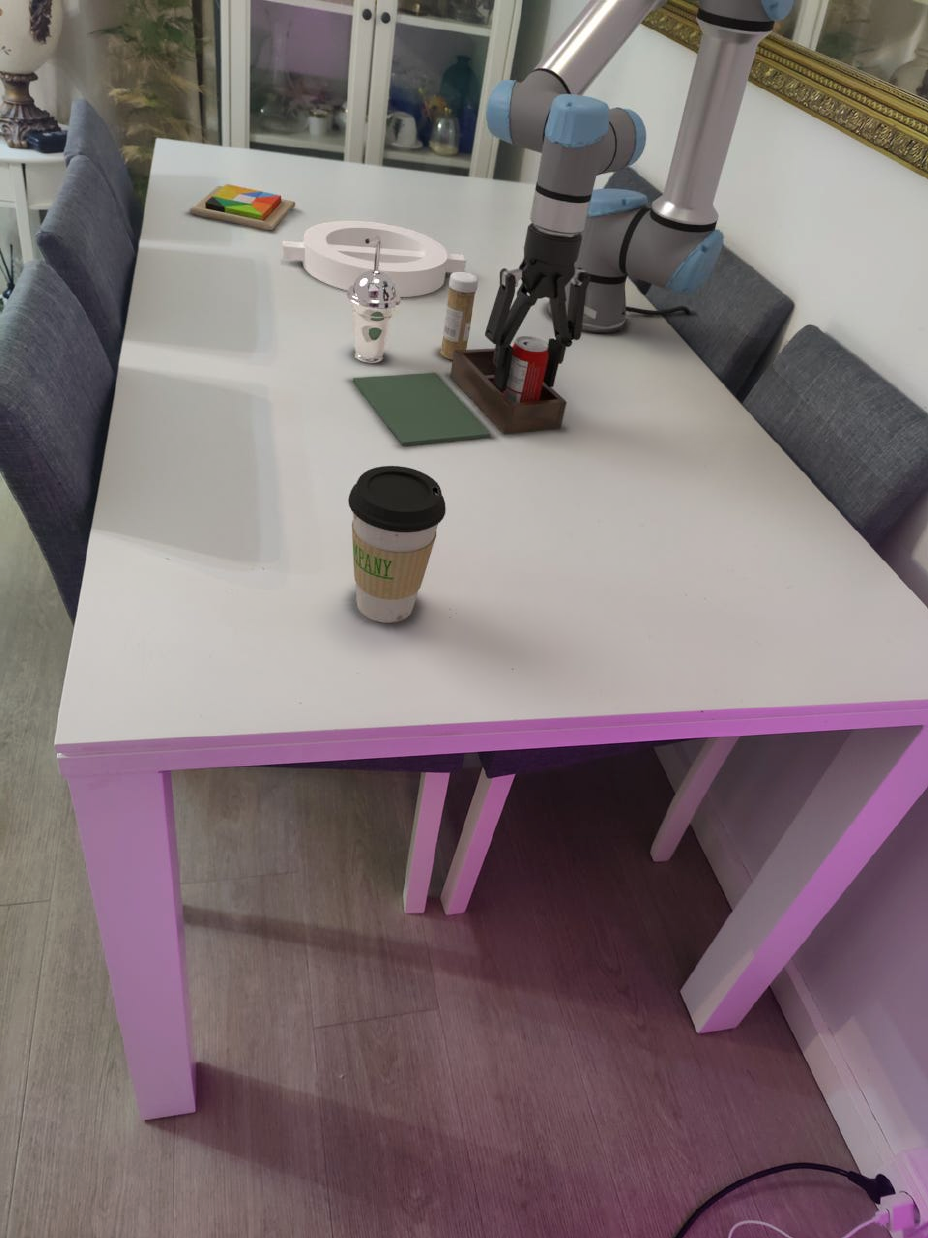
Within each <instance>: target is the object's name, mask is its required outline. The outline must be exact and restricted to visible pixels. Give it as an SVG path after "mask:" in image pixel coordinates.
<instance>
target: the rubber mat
mask: <svg viewBox="0 0 928 1238" xmlns="http://www.w3.org/2000/svg"><path fill="white" fill-rule="evenodd" d="M352 382H353V384H354V385H355V386H356V387H357V389H358V390H359V391H360V393H361V394H362V395H363V396H364V398H365V399H366V400H367V401H368V403H369V404H370V406H371V407H372V408H373V409H374V411H375V412H376V413H377V414H378V416H379V417H380V418H381V420H382V421H383V422H384V424H385V425H386V426H387V428H388V429H389V431H390V432H391V433H392V434H393V436H394V437H395V438H396V439H397V441H398V442H399V443H400V444H401V446H402V447H406V446H416V445H417V446H418V445H426V444H437V443H447V442H454V441H455V442H457V441H466V440H476V439H486V438H491V436H492V435H491V432H490V431H489V429H487V428H486V427H485V426H484V425H483V424H482V423H481V422H480V420H479V419H478V418H477V416H475V415H474V414H473V413H472V411H471V410H470V409H469V408H468V407H467V406H466V405H465V404H464V403H463V402H462V401H461V399H460V398H459V397H458V396H457V395H456V394H455V393H454V392H453V391H452V390H451V389H450V388H449V387H448V385H447V384H446V383H445V382H444V381H443V380H442V379H441V378H440V376H439V375H438V374H437V373H436V372H428V373H427V372H426V373H413V374H397V375H396V374H395V375H380V376H366V377H364V376H363V377H353V379H352Z"/></svg>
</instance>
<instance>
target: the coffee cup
mask: <svg viewBox="0 0 928 1238" xmlns="http://www.w3.org/2000/svg"><path fill="white" fill-rule="evenodd" d="M347 499H348V500H347V501H348V507H349V509H350V510H351V512H352V520H351V538H352V557H353V558H352V559H353V561H352V562H353V577H354V582H355V593H356V595H355V596H356V597H355V599H356V607H357V609H358V611H359V612H360V613H361V614H362V615H363V616H364V617H366V618H367V619H369V620H371V621H375V622H378V623H386V624H392V623H399V622H401V621H404V620H405V619H407V618H408V617H409V616H410V615H411V614H412V612H413V610H414V606H415V603H416V600H417V596H418V594H419V593H418V592H419V590H420V589H421V587H422V585H423V584H422V583H423V581H424V577H425V574H426V571H427V568H428V564H429V561H430V557H431V555H432V551H433V549H434V545H435V542H436V539H437V529H438V525H439V524H440V523H441V522H442V521H443V520H444V517H445V516H446V511H447V510H446V509H447V508H446V501H445V498H444V496H443V492H442V488H441V486H440V485H439V483H438V482H437V481H436V480H435V479H434V478H433V477H431V476H430V475H428V474H427V473H425V472H423V471H420V470H418V469H416V468H415V469H414V468H411V467H406V466H399V465H382V466H378V467H377V466H376V467H373V468H371V469H368V470H366V471H363V473H362V474H361V475H360V476H359V477H358V479H357V481H356V483H355V484H354V485H353V487H352V488H351V489H350V492H349V495H348V498H347Z"/></svg>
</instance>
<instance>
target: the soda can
mask: <svg viewBox="0 0 928 1238" xmlns="http://www.w3.org/2000/svg"><path fill="white" fill-rule="evenodd" d="M512 347H513V348H514V351H513V356H512V361H511V366H510V372H509V377H508V382H507V387H506V390H505V391H503V395H504V396H505V397H506V398H507V399H508V400H509V401H510V402H511V403H519V402H532V401H539V397H540V393H541V388H542V384H543V379H544V375H545V370H546V366H547V361H548V342H546V341H545V340H544V339H542V338H540V337H539V338H538V337H536V336H532V335H521V336H518V337H516V338H515V341H514V342H513V345H512Z"/></svg>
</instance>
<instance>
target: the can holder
mask: <svg viewBox="0 0 928 1238" xmlns="http://www.w3.org/2000/svg"><path fill="white" fill-rule="evenodd" d="M494 351H495V347H493V348H476V349H466V350H455V351H454V355H453V360H452V362H451V369H450V375H449V378H450V379H452V380H453V381H454V382H455V384H456V385H457V386H458V387H459V389H461V390H462V391H463V392H464V393H465V395H467V396H468V398H469V399H470V400H471V401H472V402H473V403H474V404H475V406H477V407H478V408H479V410H480V411H482V413H483V414H484V415H485V416H486V417H487V418H488V419H489V421H491V422H492V423H493V424H494V426H496V428H497V429H498V430H499V431H500V432H501V434H503V435H508V434H518V433H520V434H521V433H529V432H540V431H550V430H559V429H561V427H562V424H563V419H564V416H565V412H566V407H567V403H568V402H567V400H566V399H564V398H563V396H561V395H560V394H559V393H558V392H557V391H556V390H555V389H554V388H553V387H548V386H547V385H546V384H545V383H544V382H543V384H542V388H541V393H540V397H539V401H532V402H519V403H511V402H510V401H509V400H508V399H507V398H506V397H505V396H504V395H503V391H501V390H500V389H499V388H498V387H497V386H496V385H495V384H494V383H493V381H494V375H495V370H496V366H495V365H494V364H493V357H494Z"/></svg>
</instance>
